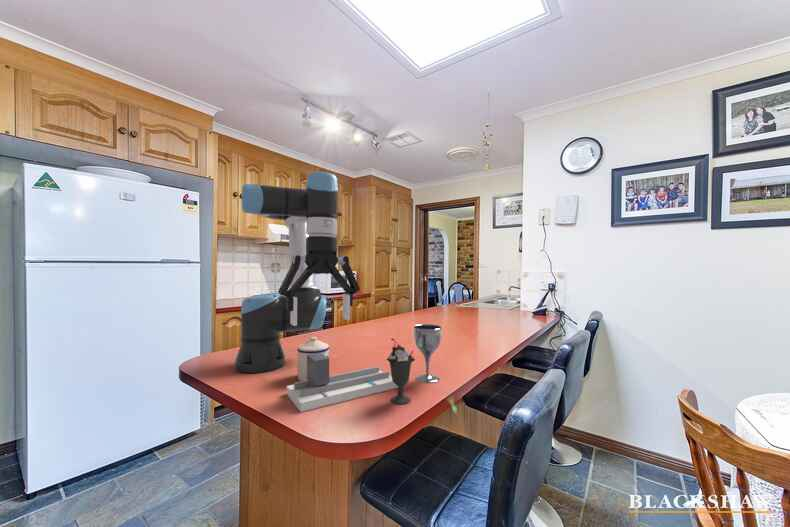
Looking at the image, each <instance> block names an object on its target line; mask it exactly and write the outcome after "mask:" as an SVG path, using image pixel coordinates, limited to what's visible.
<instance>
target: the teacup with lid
mask: <svg viewBox="0 0 790 527" xmlns="http://www.w3.org/2000/svg"><path fill="white" fill-rule="evenodd" d="M317 353H321V354H323V355H324V356H326V357H328V358H329V359H330V354H331V351H330V346H329V344H328V343H326V342H323V341H321V340H318V337H317V336H311V337H309V340H307V341H306V342H304V343H301V344H300V345H298V346H297V379H298V380H299V381H305V380H308V379H307V355H311V354H317Z"/></svg>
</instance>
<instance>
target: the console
mask: <svg viewBox="0 0 790 527" xmlns="http://www.w3.org/2000/svg"><path fill="white" fill-rule="evenodd" d="M394 389H398V386H397V385H396V384H395V383H394V382H393V380H392V376H391V375H390V373H389V371H388V370H385V371H381V370H380V366H378V365H377V366H372V367H367V368H362V369H357V370H352V371H346V372H341V373H337V374H333V375H332V374H331V375H329V383H328V384H324V385H319V386H315V387H310V388H309V387H308V380H305V381H301V380H299V381H296V382H293V384H290V385H286V395H287V396H288V398H289V399H290V400H291V401H292V403H293V404H294V405H295V407H296V408H297V409H298V410H299V411H300V413H302V412H307V411H310V410H311V411H312V410H314V409H317V408H322V407H326V406H330V405H334V404H338V403H342V402H346V401H350V400H354V399H358V398H362V397H366V396H371V395H374V394H378V393H381V392H385V391H390V390H394Z"/></svg>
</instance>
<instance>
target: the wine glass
mask: <svg viewBox="0 0 790 527" xmlns="http://www.w3.org/2000/svg"><path fill="white" fill-rule="evenodd" d="M413 339H414V344H415V347H417V349H418V350H419V352H420V353H421V354H422V356H423V357H424V362H425V374H418V375H415V377H414V379H415V381H417V382H419V383H424V384H434V383H437V382H440V380H441V379H440V377H439V376H437V375H435V374H430V361H431V357H432V356H433V354H434V353H435V352H436V351H437V350H438V348H439V346H440V343H441V339H442V326H441V325H438V324H432V323H431V324H429V323H424V324H423V323H422V324H415V325H414V326H413Z"/></svg>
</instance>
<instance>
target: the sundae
mask: <svg viewBox="0 0 790 527" xmlns="http://www.w3.org/2000/svg"><path fill="white" fill-rule="evenodd" d="M390 340H391V341H392V342H393V343H394V345H393V347H391V350H392V351H391V352H389V355H388V357H387V358H386V361H388V362H389V367H390V373H391V375H390V376H391V377H392V380H393V382H394V383H395V384H396V385H397V386H398V388H397V395H394V396H392V397H391V398H390V402H391V403H393V404H395V405H399V406H400V405H401V406H402V405H407V404H409V403H410V402H411V398H410V397H409V396H407V395H404V387H405V385H407V383H408V382H409V379H410V375H411V374H410V373H411V366H412V363H413V362H415V361H416V359H415V358H414V356H412V355H413V353H414V350H413V349H412V351H411V352H410V354H409V351H408V349H406V348H405V347H403V346H402V345H401V344H398V342H397V341H396V340H395V338H391V339H390Z"/></svg>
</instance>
